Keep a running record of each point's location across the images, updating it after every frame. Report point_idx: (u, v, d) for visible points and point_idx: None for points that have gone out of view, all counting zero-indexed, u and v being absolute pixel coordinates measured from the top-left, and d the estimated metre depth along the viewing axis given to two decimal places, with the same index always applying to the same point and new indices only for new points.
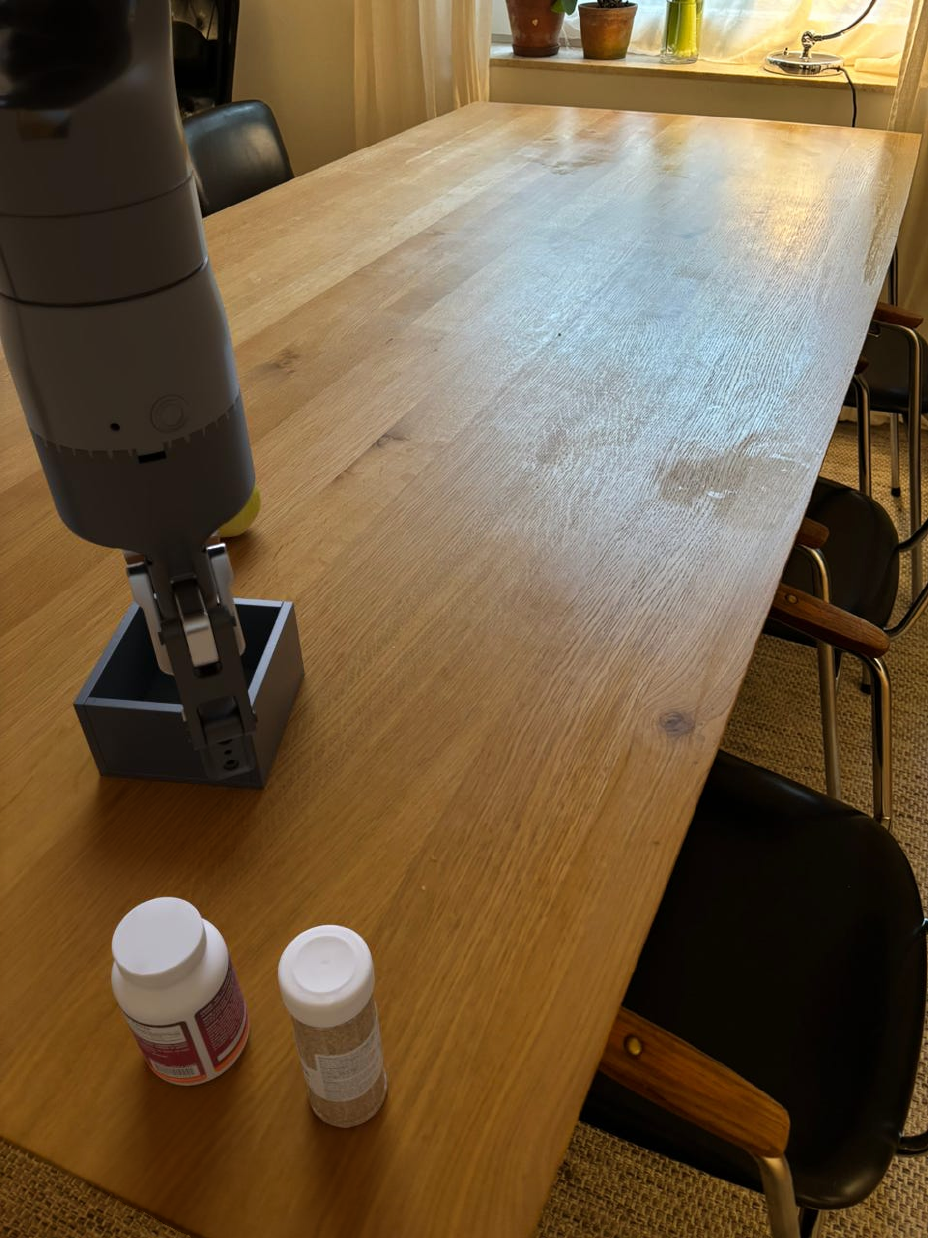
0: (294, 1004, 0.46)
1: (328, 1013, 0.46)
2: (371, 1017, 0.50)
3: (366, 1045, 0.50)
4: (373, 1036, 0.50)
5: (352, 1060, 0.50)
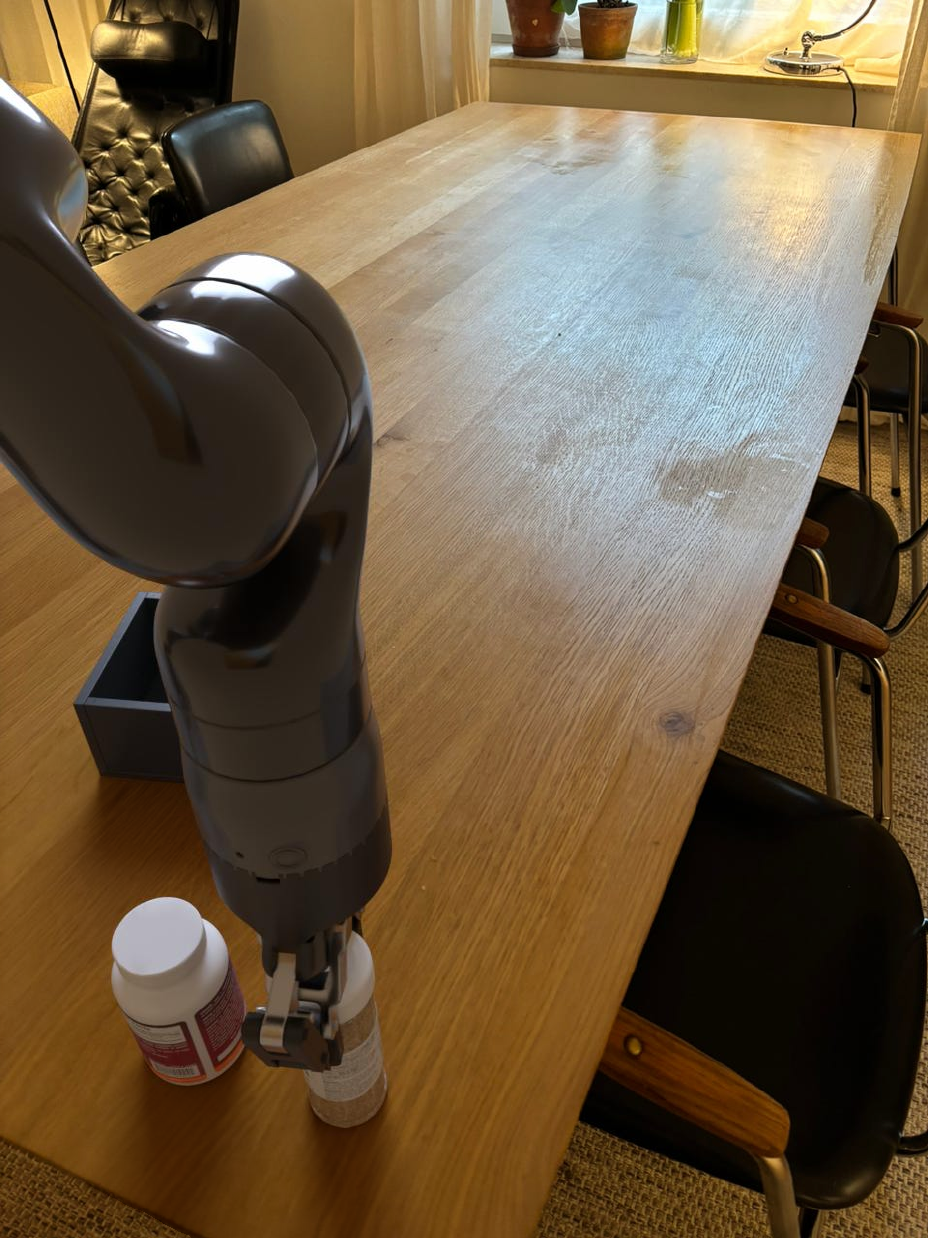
0: None
1: None
2: (371, 1017, 0.50)
3: (366, 1045, 0.50)
4: (373, 1036, 0.50)
5: (352, 1059, 0.50)
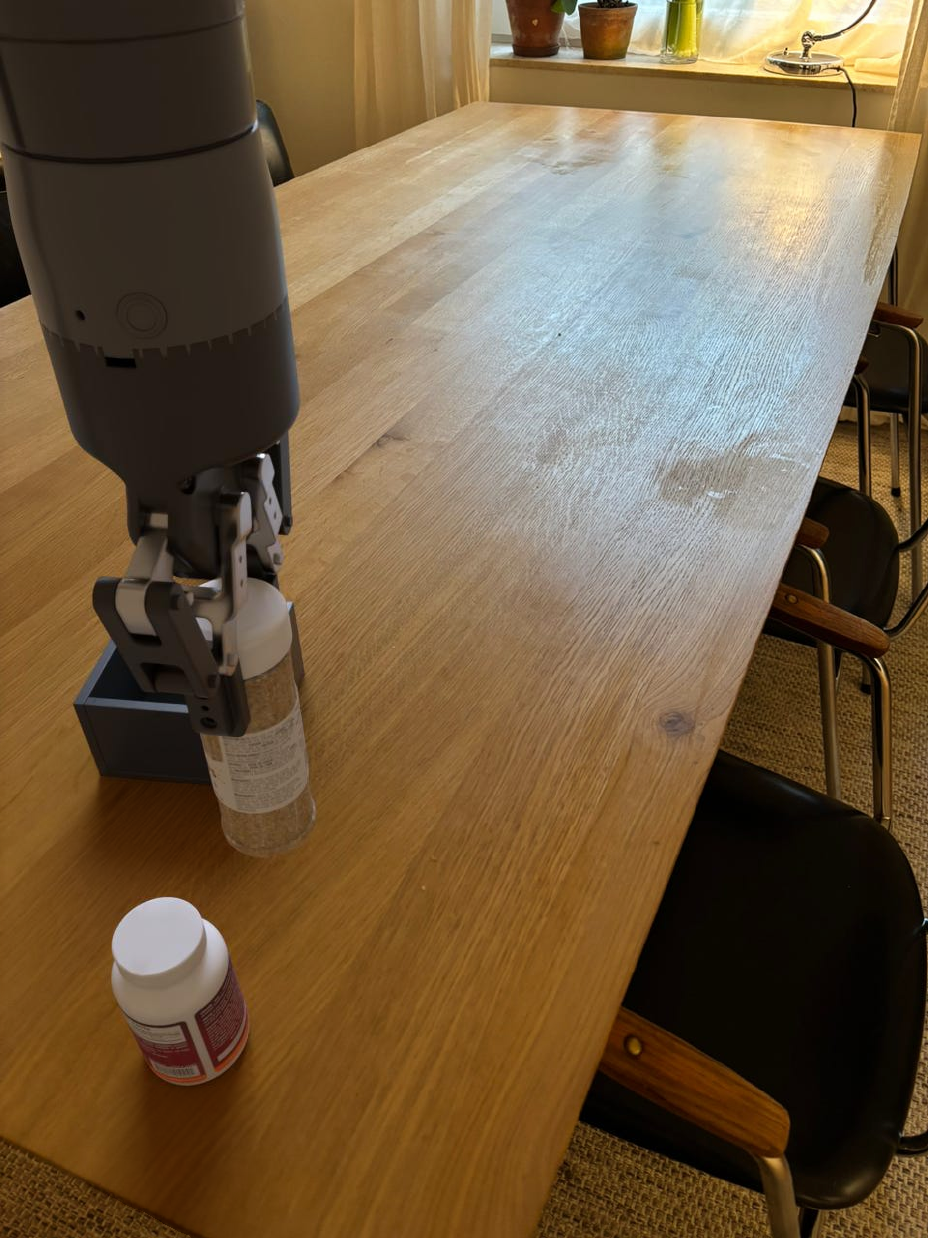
0: None
1: None
2: (288, 692, 0.41)
3: (282, 730, 0.41)
4: (292, 722, 0.42)
5: (265, 745, 0.41)
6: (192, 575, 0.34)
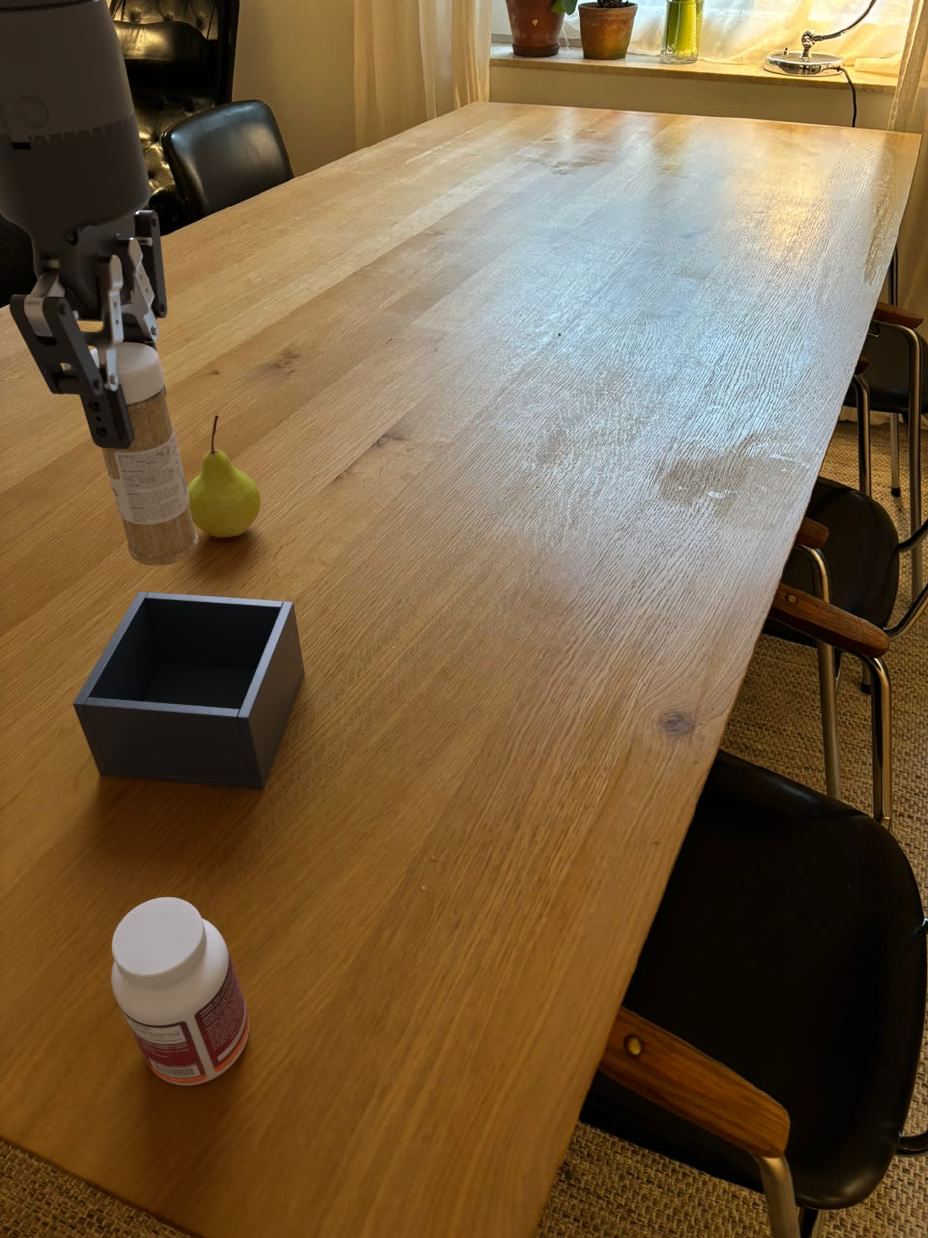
0: None
1: None
2: (164, 425, 0.58)
3: (161, 453, 0.59)
4: (169, 450, 0.59)
5: (148, 463, 0.58)
6: (82, 314, 0.52)
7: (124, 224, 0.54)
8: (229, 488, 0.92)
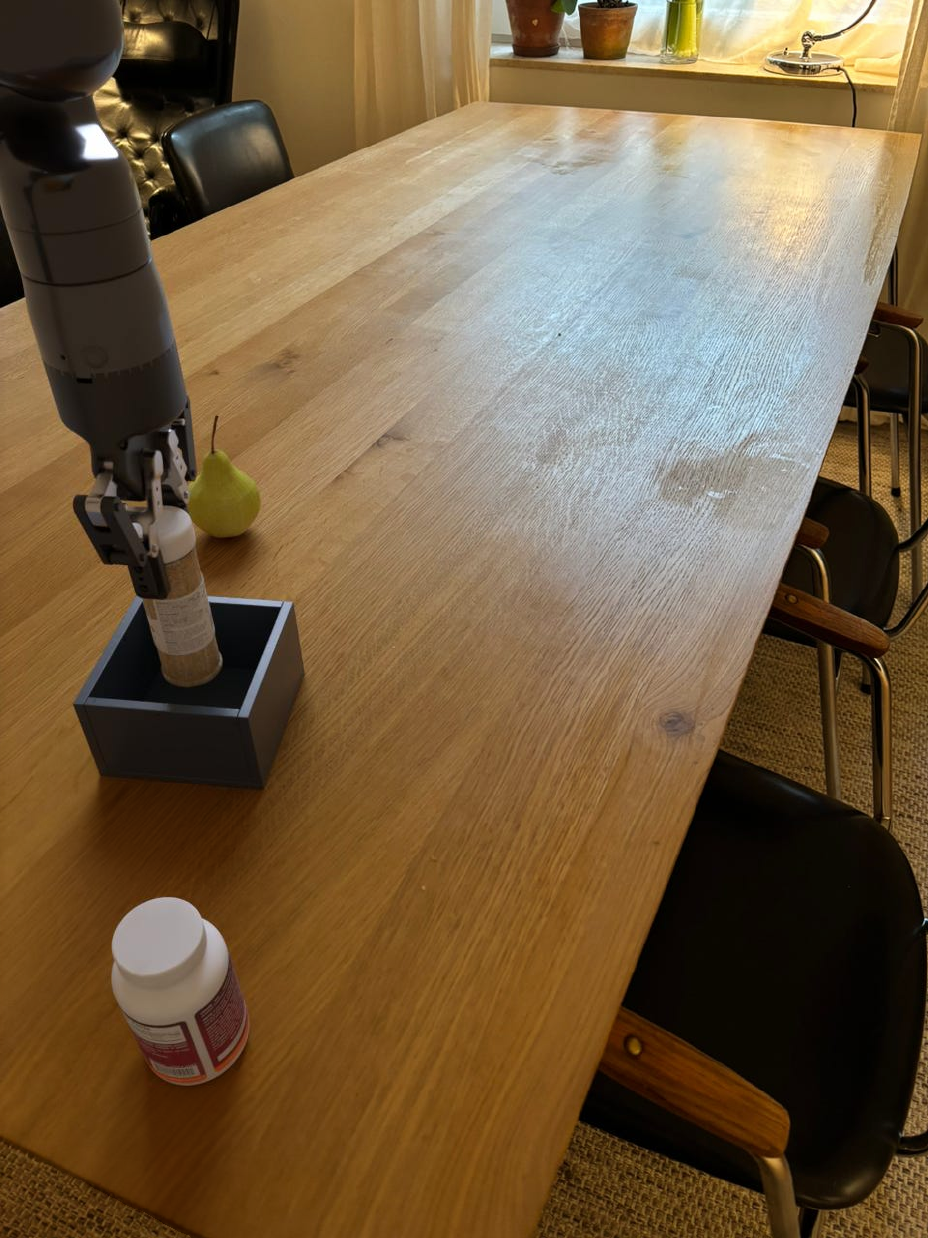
0: None
1: None
2: (195, 575, 0.68)
3: (192, 598, 0.68)
4: (199, 595, 0.69)
5: (182, 608, 0.68)
6: (129, 498, 0.61)
7: None
8: (229, 488, 0.92)
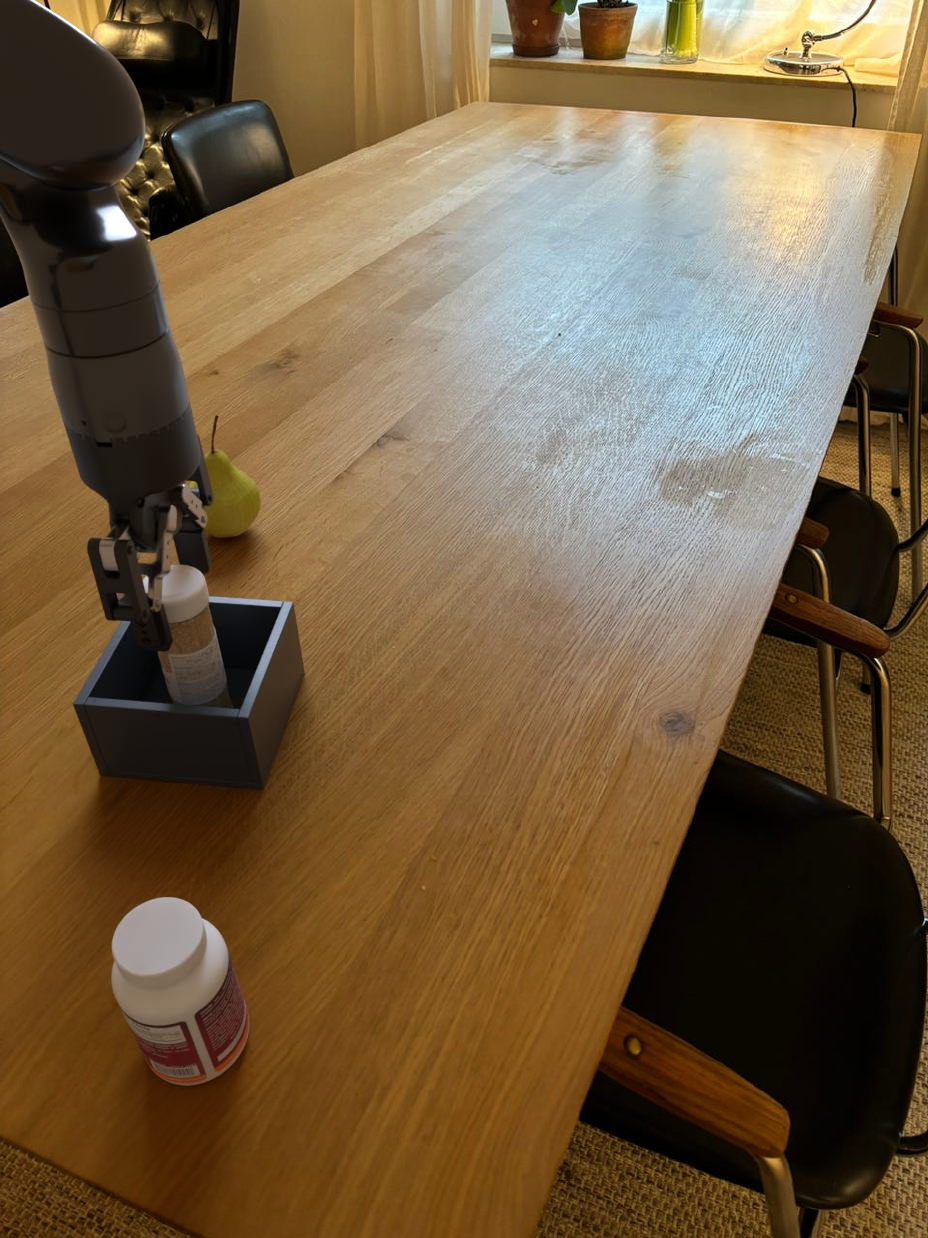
0: None
1: (170, 608, 0.68)
2: (208, 631, 0.71)
3: (206, 652, 0.72)
4: (212, 649, 0.72)
5: (196, 661, 0.71)
6: (145, 550, 0.64)
7: None
8: (229, 488, 0.92)
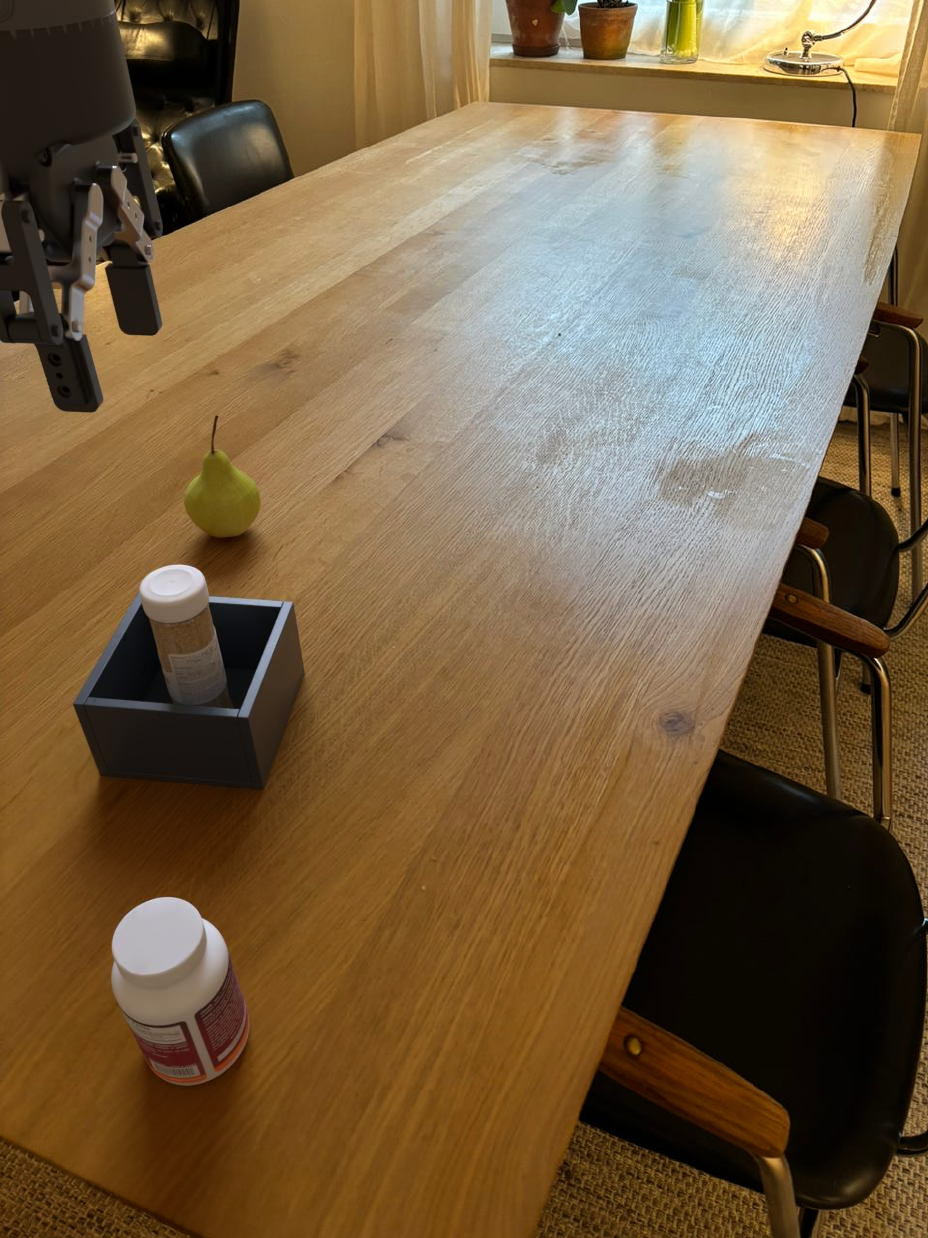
0: (148, 603, 0.68)
1: (171, 608, 0.68)
2: (208, 631, 0.71)
3: (206, 652, 0.72)
4: (212, 649, 0.72)
5: (196, 661, 0.71)
6: (58, 252, 0.45)
7: (105, 151, 0.47)
8: (229, 488, 0.92)
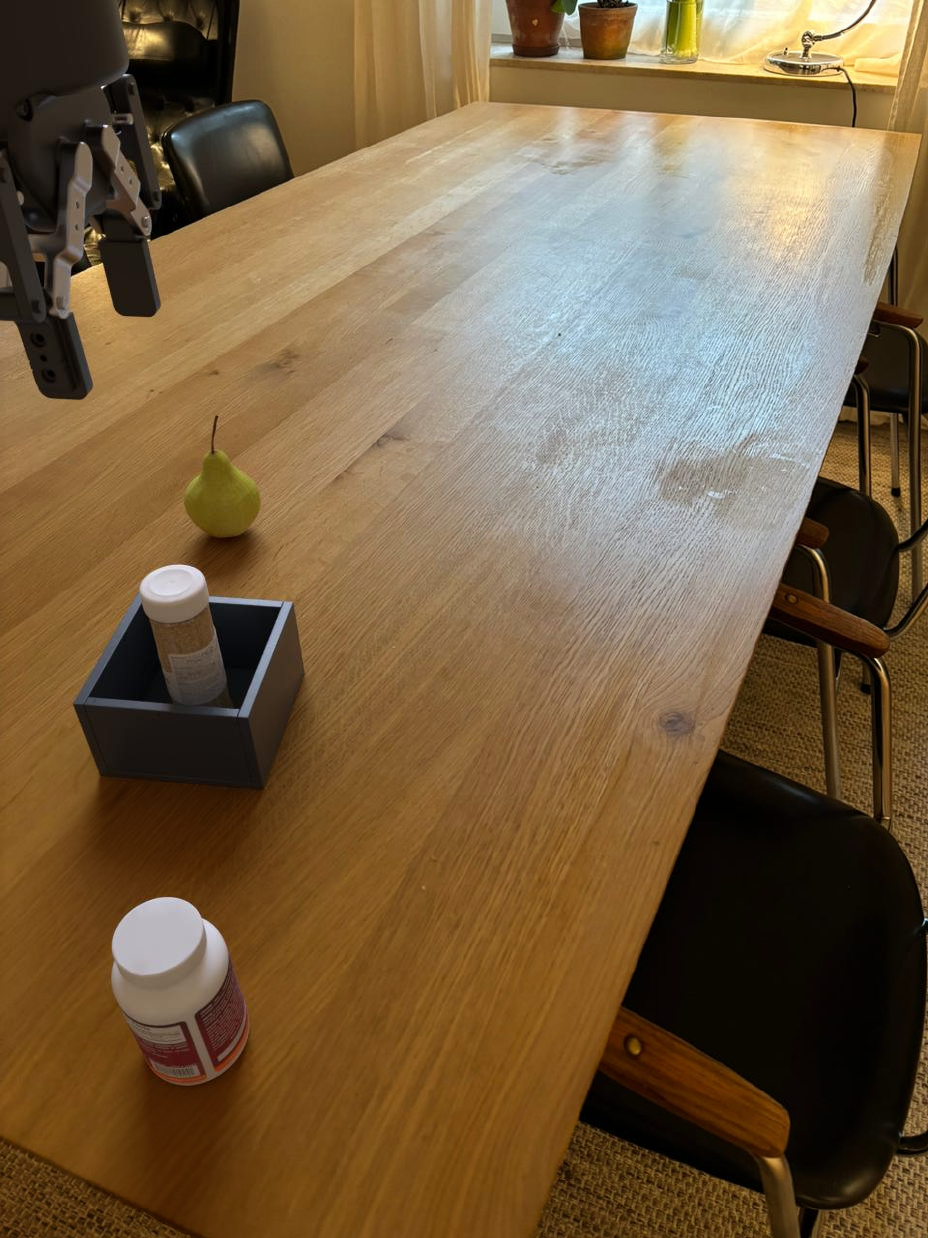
0: (148, 603, 0.68)
1: (171, 608, 0.68)
2: (208, 631, 0.71)
3: (206, 652, 0.72)
4: (212, 649, 0.72)
5: (196, 661, 0.71)
6: (42, 219, 0.40)
7: (96, 109, 0.42)
8: (229, 488, 0.92)
